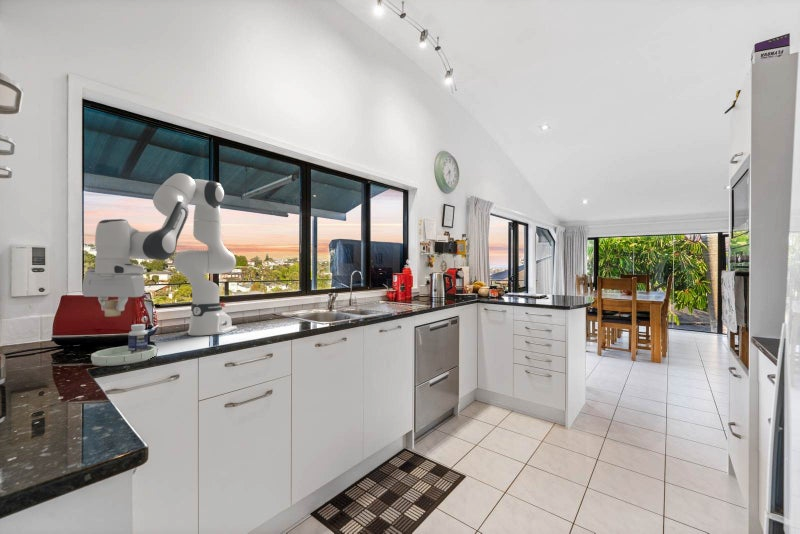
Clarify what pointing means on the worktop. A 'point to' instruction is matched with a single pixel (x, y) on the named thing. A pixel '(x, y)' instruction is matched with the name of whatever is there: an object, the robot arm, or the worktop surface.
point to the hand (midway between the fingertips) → (113, 310)
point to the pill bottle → (137, 339)
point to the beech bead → (111, 308)
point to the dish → (121, 356)
